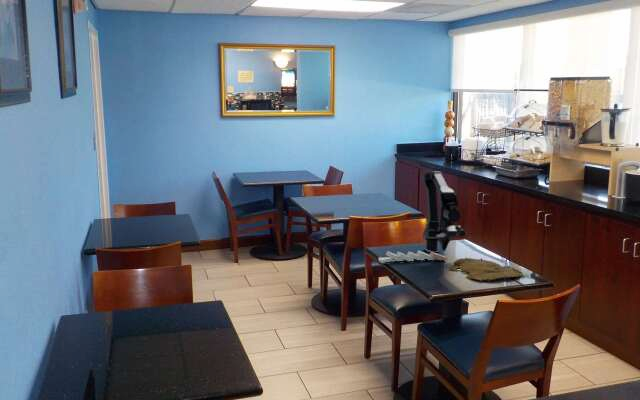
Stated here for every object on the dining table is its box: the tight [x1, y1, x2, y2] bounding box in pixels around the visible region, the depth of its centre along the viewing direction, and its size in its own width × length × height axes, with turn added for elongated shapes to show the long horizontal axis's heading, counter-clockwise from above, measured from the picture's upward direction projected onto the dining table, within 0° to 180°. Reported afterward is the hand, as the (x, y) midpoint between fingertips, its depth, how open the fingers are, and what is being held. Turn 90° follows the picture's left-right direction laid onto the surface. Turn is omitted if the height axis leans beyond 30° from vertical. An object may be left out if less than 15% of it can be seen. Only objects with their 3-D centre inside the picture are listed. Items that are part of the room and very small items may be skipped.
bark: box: [448, 257, 524, 282], centre depth 253 cm, size 28×4×30 cm
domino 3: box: [395, 251, 415, 262], centre depth 266 cm, size 4×2×7 cm
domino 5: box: [415, 250, 435, 261], centre depth 270 cm, size 4×2×7 cm
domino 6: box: [428, 252, 448, 261], centre depth 270 cm, size 4×2×7 cm
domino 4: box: [406, 251, 426, 261], centre depth 269 cm, size 4×2×7 cm
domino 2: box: [385, 250, 405, 262], centre depth 266 cm, size 4×2×7 cm
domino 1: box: [378, 256, 397, 264], centre depth 266 cm, size 4×2×7 cm
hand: (443, 250), depth 271 cm, fingers closed
